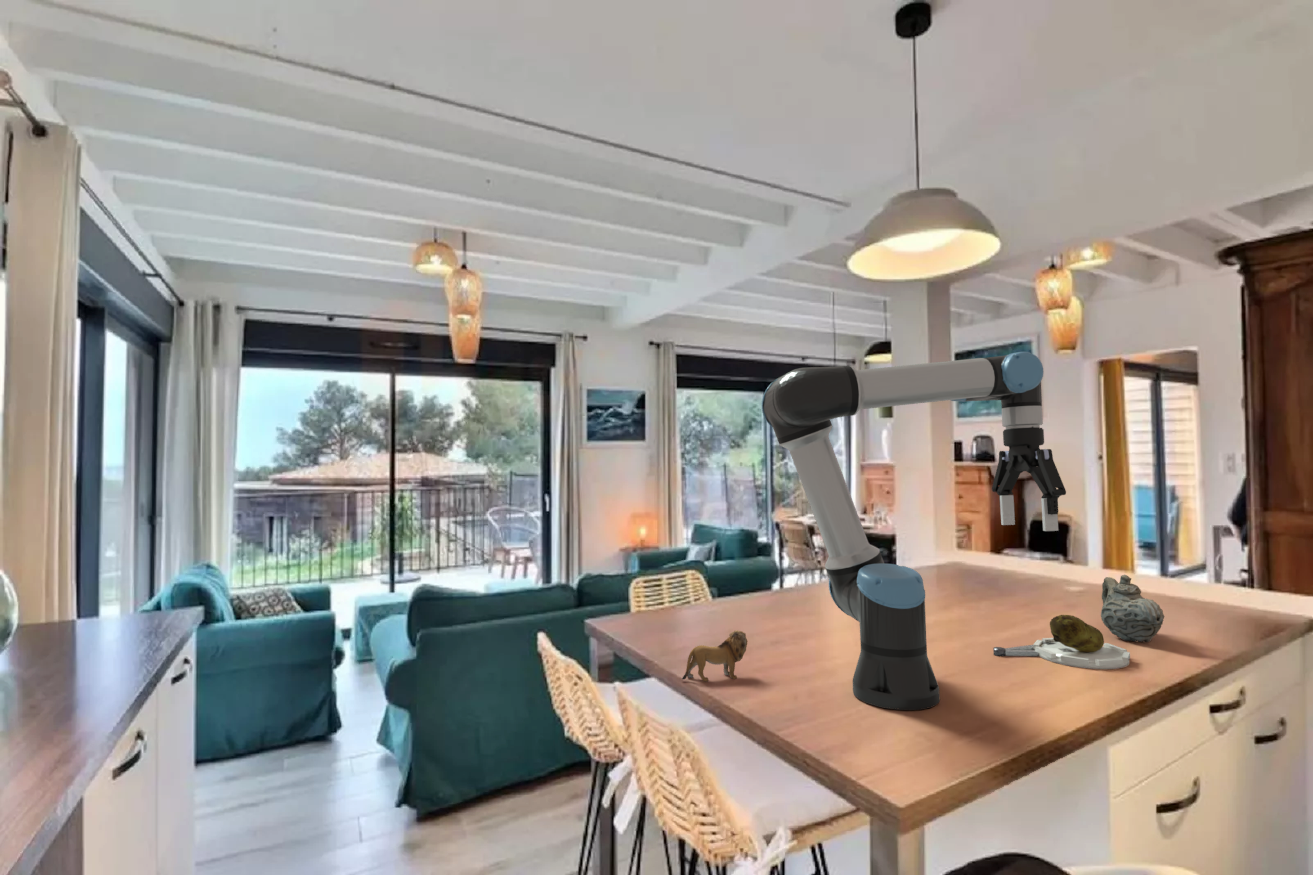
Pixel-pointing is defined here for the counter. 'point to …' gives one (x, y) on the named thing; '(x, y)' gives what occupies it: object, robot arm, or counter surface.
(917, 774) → the counter surface
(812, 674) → the counter surface
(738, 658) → the lion figurine
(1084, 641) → the potato
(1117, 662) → the plate
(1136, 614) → the teapot
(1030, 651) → the open tongs prop
